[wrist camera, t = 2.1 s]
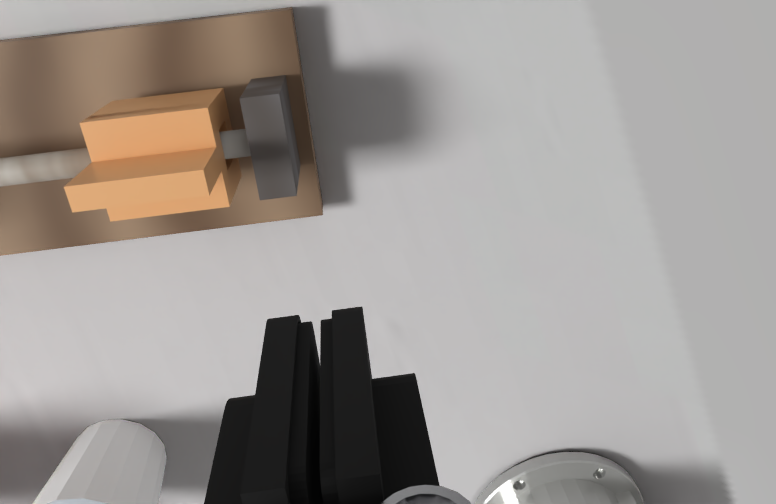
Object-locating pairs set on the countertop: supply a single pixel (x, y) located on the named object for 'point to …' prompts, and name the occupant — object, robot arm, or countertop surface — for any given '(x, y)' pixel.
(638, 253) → the countertop surface
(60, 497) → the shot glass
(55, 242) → the wooden slider rail
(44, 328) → the countertop surface
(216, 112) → the orange sliding block
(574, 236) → the countertop surface
